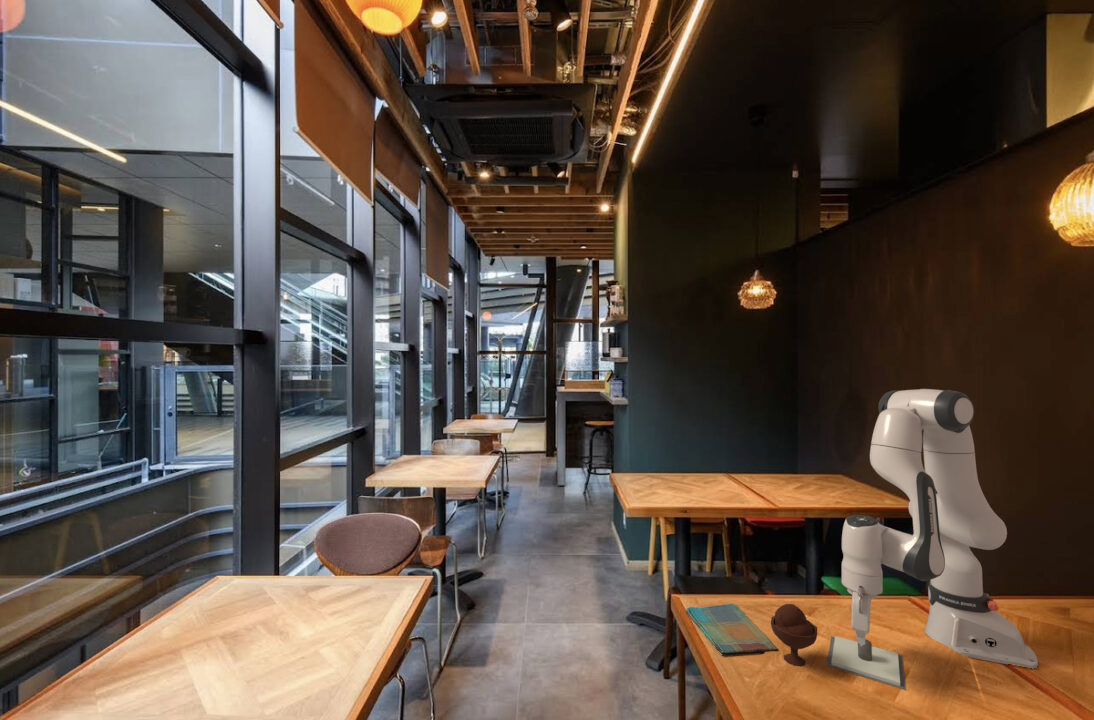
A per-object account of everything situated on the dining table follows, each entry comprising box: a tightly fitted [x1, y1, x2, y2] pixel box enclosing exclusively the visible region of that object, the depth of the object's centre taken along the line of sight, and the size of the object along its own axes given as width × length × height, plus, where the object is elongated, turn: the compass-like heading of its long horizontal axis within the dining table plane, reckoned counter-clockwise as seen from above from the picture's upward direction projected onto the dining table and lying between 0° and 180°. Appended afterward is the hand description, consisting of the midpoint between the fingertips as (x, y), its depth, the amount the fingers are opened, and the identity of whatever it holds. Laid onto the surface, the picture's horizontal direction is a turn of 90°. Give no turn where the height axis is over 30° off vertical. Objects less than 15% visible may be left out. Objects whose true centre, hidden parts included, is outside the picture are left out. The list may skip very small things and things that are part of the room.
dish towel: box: [685, 603, 780, 657], centre depth 135 cm, size 17×23×3 cm
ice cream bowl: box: [770, 603, 818, 667], centre depth 120 cm, size 11×11×15 cm
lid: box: [831, 635, 900, 686], centre depth 119 cm, size 14×14×5 cm
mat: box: [826, 636, 907, 691], centre depth 119 cm, size 16×16×1 cm
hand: (861, 634), depth 120 cm, fingers open, 8 cm apart
